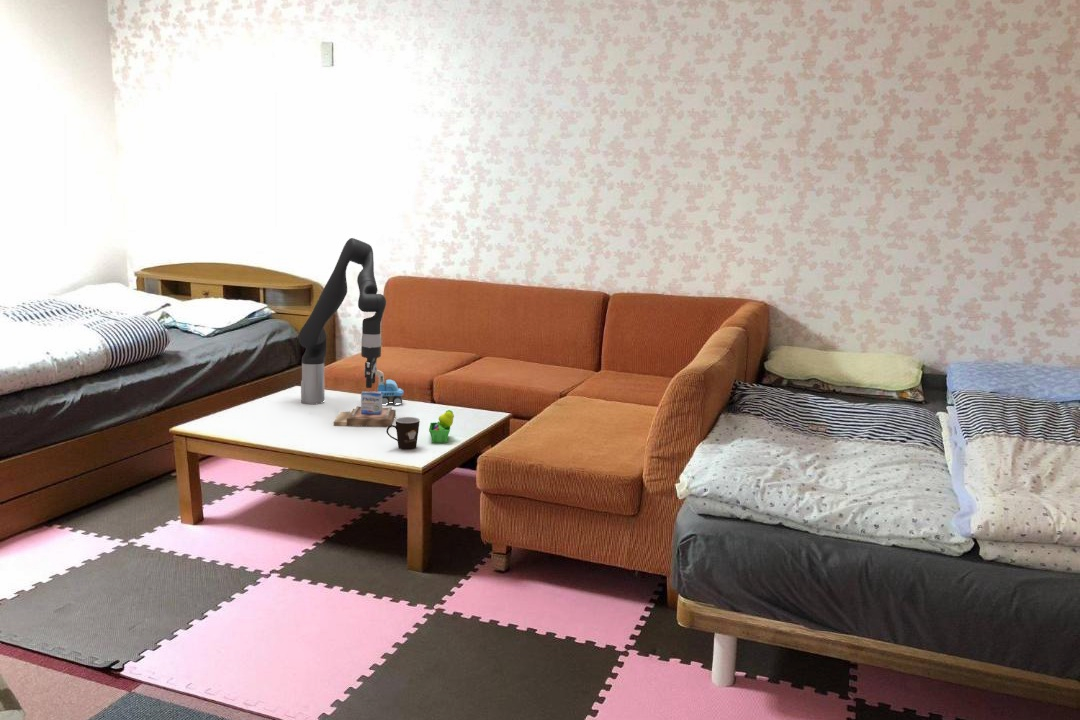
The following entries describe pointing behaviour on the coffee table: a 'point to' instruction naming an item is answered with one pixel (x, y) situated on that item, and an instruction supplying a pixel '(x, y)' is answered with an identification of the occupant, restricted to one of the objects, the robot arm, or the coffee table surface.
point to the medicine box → (371, 402)
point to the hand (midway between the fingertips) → (370, 385)
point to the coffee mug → (406, 432)
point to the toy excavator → (388, 389)
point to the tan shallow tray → (366, 418)
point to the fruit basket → (441, 427)
